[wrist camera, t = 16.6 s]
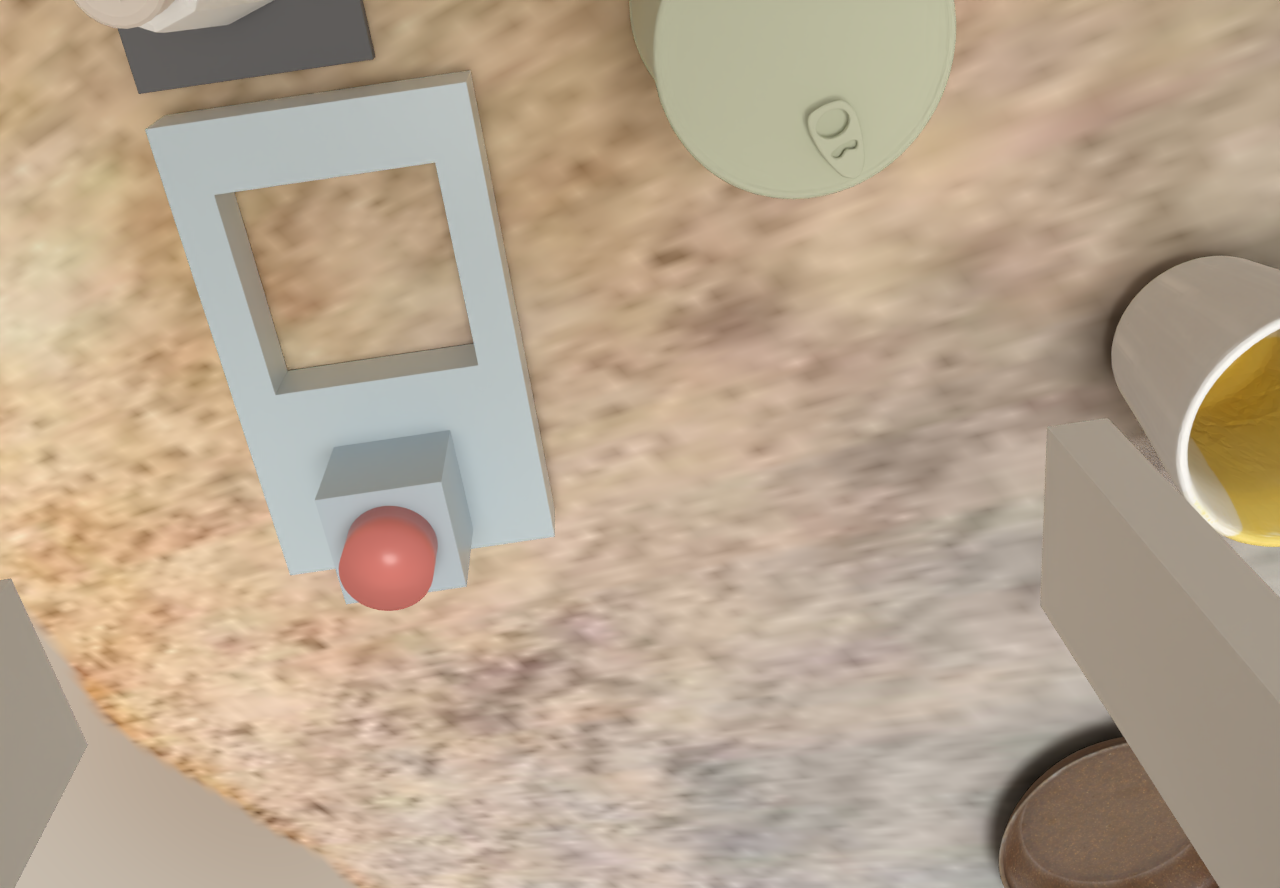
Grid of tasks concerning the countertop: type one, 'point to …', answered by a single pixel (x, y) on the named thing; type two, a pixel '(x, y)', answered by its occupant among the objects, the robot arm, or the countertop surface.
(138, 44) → the mat
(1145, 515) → the robot arm
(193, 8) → the pepper shaker
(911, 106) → the can
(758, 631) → the countertop surface
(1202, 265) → the mug
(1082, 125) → the countertop surface
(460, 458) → the frame
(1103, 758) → the saucer
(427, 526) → the plunger
